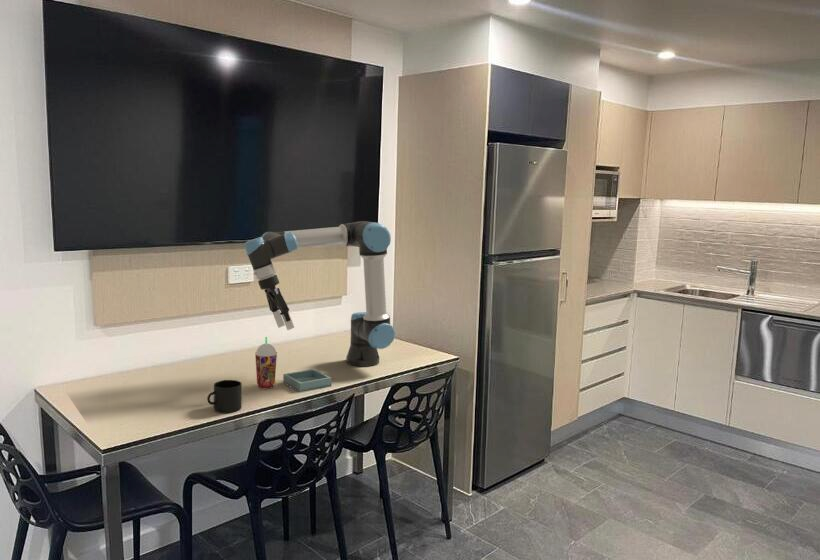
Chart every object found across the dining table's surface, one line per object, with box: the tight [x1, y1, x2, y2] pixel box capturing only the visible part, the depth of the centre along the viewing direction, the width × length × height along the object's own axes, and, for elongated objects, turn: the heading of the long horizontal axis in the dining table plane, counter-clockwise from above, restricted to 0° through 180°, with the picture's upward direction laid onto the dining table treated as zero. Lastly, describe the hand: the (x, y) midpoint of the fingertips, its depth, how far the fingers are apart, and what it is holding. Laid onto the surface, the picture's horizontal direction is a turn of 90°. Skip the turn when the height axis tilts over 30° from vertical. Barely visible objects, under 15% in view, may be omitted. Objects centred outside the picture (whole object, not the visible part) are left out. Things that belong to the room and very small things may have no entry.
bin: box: [282, 368, 332, 393], centre depth 250 cm, size 14×14×4 cm
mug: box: [206, 379, 243, 414], centre depth 219 cm, size 9×12×9 cm
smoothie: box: [254, 336, 278, 389], centre depth 244 cm, size 8×8×20 cm
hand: (286, 327), depth 245 cm, fingers open, 13 cm apart
